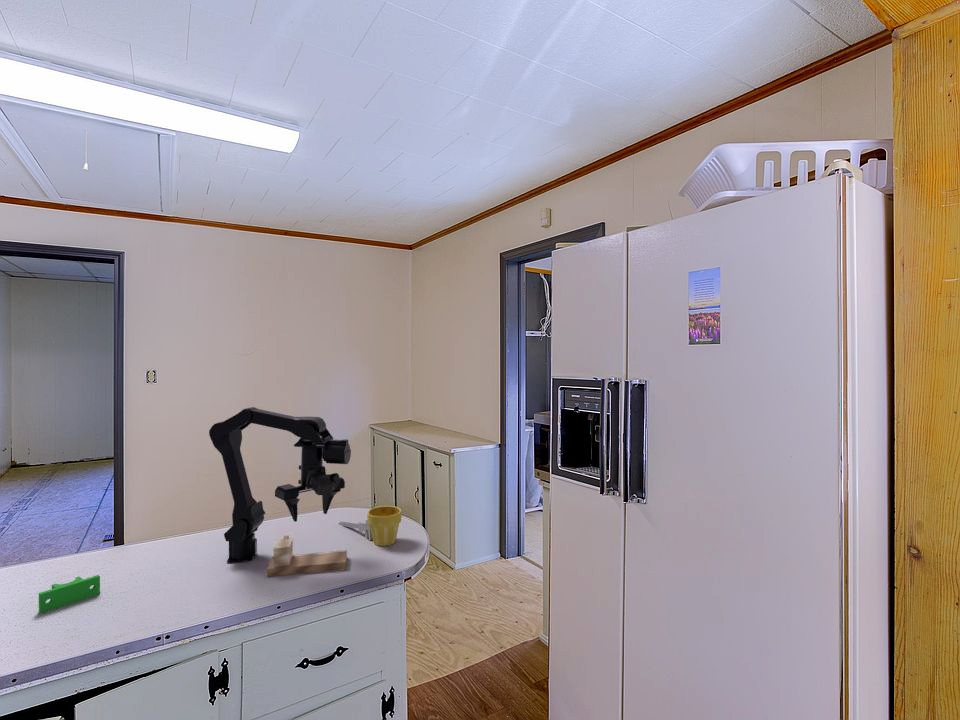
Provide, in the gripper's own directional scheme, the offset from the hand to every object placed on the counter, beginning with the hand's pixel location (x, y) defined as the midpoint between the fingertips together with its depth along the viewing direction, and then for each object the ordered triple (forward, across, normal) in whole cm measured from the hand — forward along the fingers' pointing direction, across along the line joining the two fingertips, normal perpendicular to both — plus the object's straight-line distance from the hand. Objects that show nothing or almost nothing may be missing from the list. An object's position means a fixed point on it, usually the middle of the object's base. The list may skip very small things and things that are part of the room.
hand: (310, 517), depth 140 cm
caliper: (+12, +21, +9) cm, 26 cm away
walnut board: (+12, -2, -4) cm, 13 cm away
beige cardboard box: (+10, -7, +1) cm, 12 cm away
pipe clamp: (+14, -50, +21) cm, 56 cm away
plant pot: (+12, +22, -6) cm, 26 cm away
